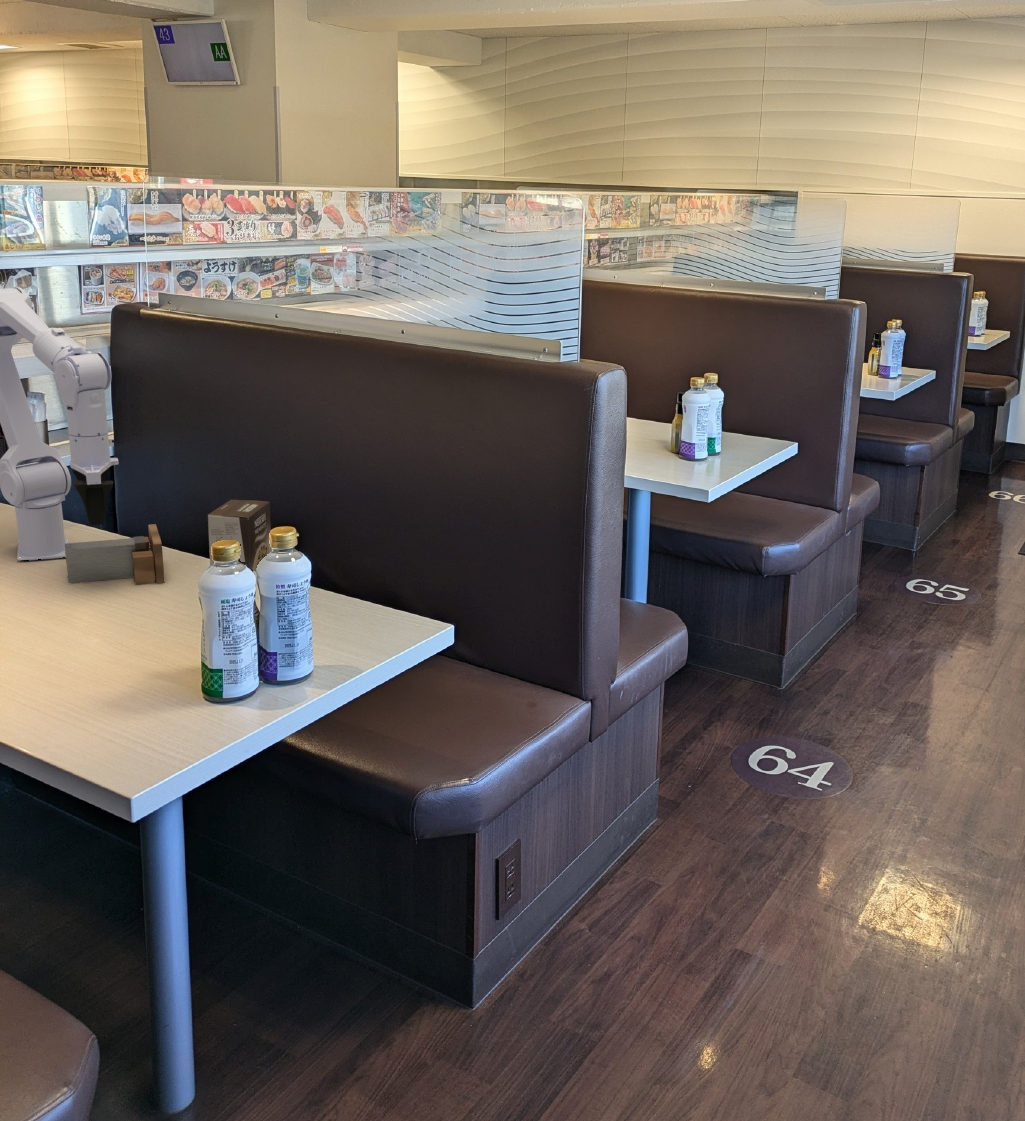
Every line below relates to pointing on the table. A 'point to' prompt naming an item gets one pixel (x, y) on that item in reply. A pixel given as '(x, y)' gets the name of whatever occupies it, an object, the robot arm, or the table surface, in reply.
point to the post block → (149, 560)
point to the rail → (102, 559)
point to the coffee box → (242, 528)
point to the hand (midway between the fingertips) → (95, 517)
